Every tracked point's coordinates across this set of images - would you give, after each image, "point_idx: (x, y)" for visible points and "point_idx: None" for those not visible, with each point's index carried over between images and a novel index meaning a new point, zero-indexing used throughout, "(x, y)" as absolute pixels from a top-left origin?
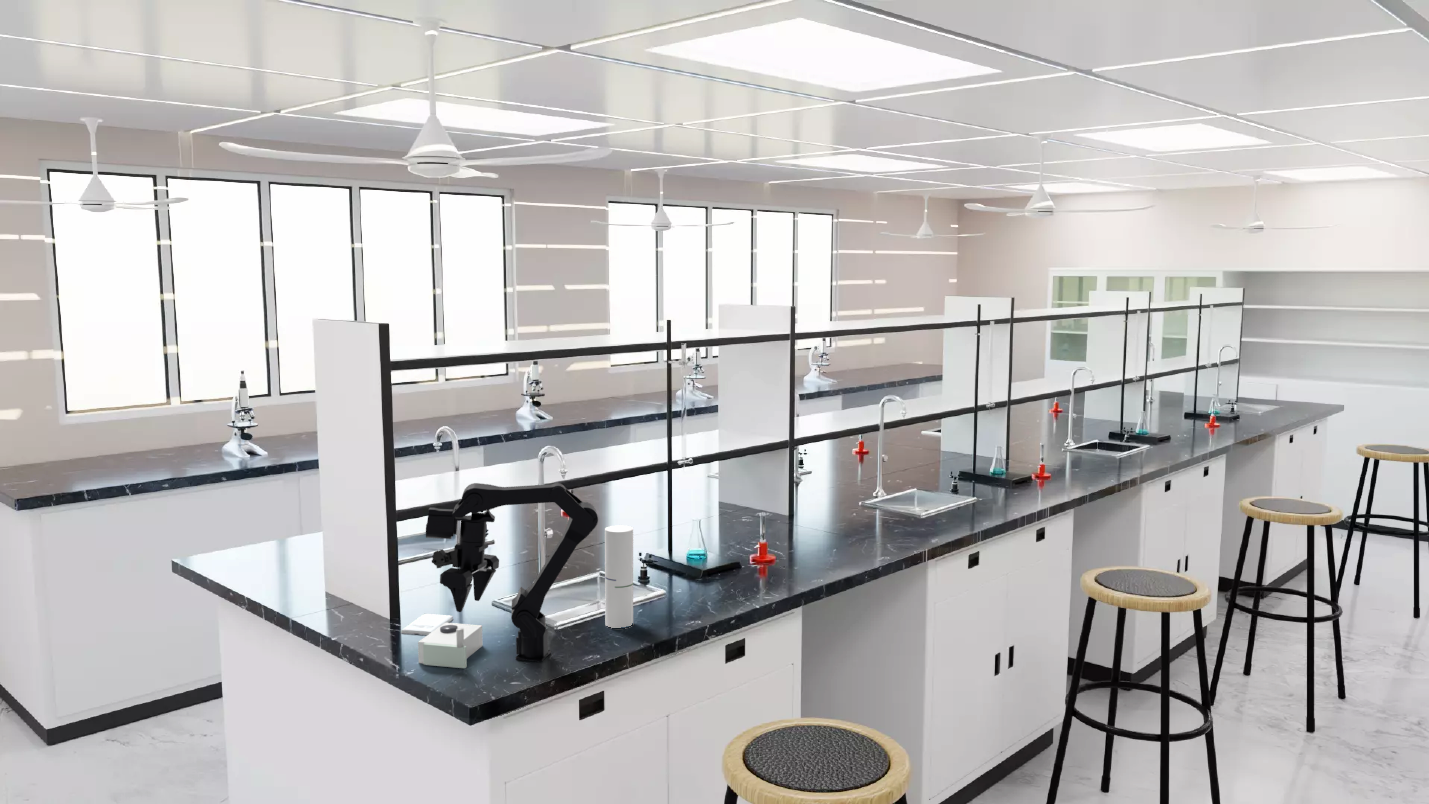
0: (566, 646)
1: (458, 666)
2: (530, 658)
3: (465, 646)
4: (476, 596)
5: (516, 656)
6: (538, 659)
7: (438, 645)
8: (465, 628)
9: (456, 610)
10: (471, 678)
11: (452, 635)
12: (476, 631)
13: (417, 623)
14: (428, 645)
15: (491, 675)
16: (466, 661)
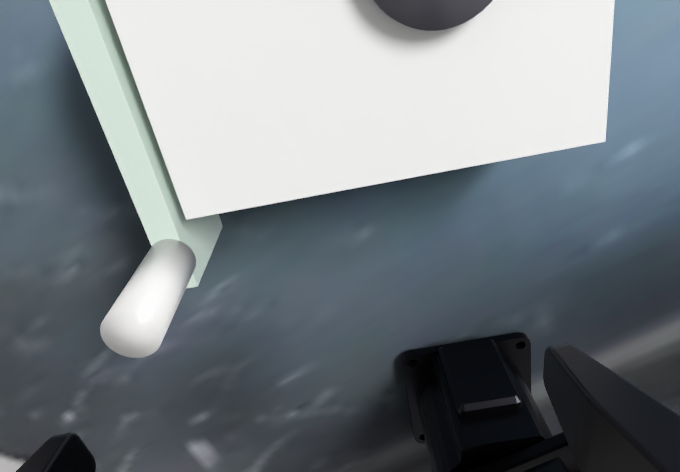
0: None
1: None
2: (417, 407)
3: (189, 286)
4: (569, 403)
5: (417, 356)
6: (418, 434)
7: (97, 115)
8: (512, 61)
9: (42, 445)
10: None
11: (330, 68)
12: (499, 156)
13: None
14: (63, 26)
15: (212, 356)
16: (216, 239)
